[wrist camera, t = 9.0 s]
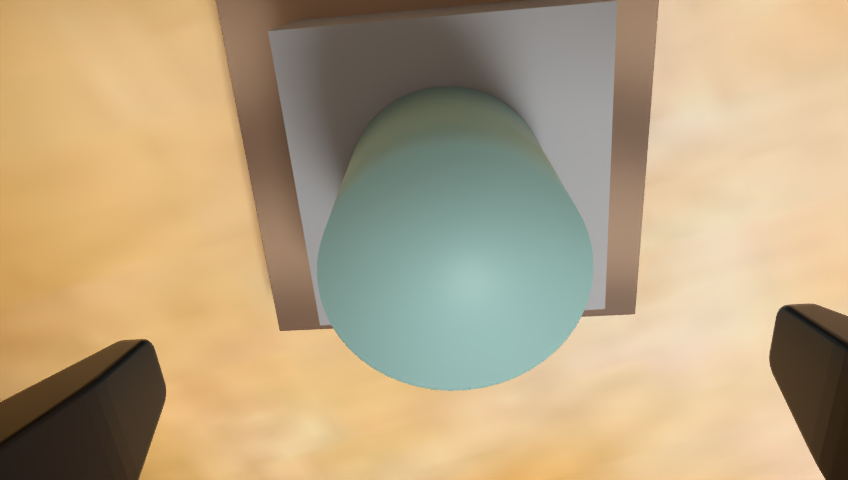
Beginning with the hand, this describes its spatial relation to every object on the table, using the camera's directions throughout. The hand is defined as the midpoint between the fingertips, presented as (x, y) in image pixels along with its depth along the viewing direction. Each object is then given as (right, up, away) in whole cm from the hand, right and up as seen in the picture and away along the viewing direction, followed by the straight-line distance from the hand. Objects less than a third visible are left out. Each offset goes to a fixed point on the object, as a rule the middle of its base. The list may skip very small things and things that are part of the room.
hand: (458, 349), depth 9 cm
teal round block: (0, +3, +7) cm, 7 cm away
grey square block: (0, +4, +10) cm, 10 cm away
